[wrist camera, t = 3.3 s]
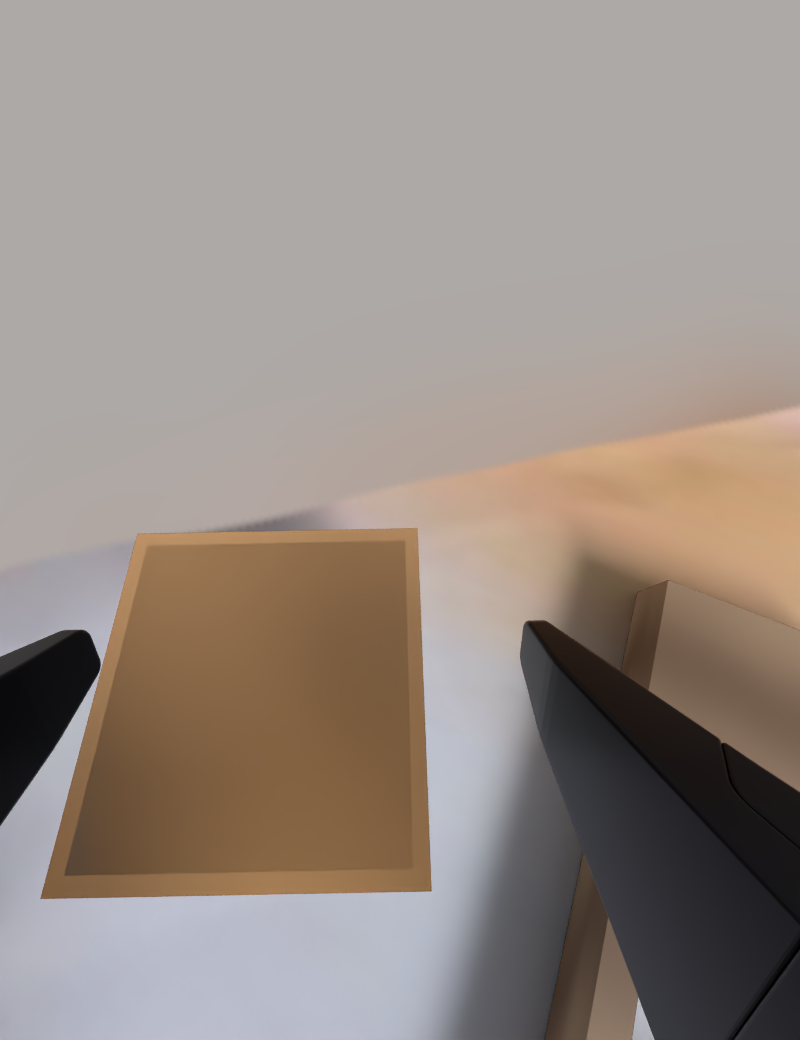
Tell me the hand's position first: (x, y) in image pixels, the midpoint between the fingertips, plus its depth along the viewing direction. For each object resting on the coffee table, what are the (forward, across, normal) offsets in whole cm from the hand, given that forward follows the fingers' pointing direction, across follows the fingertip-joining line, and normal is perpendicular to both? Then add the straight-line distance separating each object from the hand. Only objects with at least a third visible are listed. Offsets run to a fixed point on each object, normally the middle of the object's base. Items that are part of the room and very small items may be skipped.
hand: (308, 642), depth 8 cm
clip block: (+4, 0, +6) cm, 7 cm away
